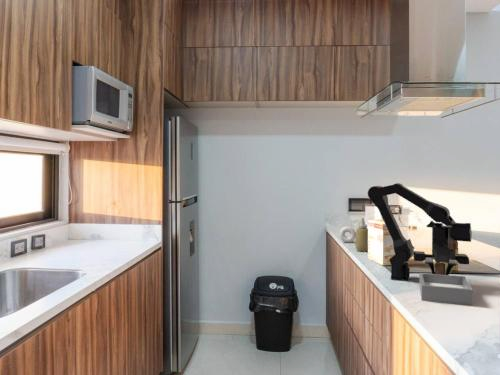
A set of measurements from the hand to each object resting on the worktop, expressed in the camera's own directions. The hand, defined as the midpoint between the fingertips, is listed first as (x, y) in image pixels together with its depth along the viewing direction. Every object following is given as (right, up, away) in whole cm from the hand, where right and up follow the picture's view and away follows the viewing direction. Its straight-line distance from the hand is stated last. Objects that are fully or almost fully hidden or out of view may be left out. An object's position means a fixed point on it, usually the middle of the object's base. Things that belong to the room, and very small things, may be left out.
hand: (440, 279), depth 147 cm
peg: (0, -2, 0) cm, 2 cm away
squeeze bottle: (-11, 0, +63) cm, 64 cm away
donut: (-13, +1, +88) cm, 89 cm away
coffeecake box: (-10, -1, +37) cm, 38 cm away
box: (-5, -2, -13) cm, 14 cm away
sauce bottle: (+13, -1, +17) cm, 21 cm away
